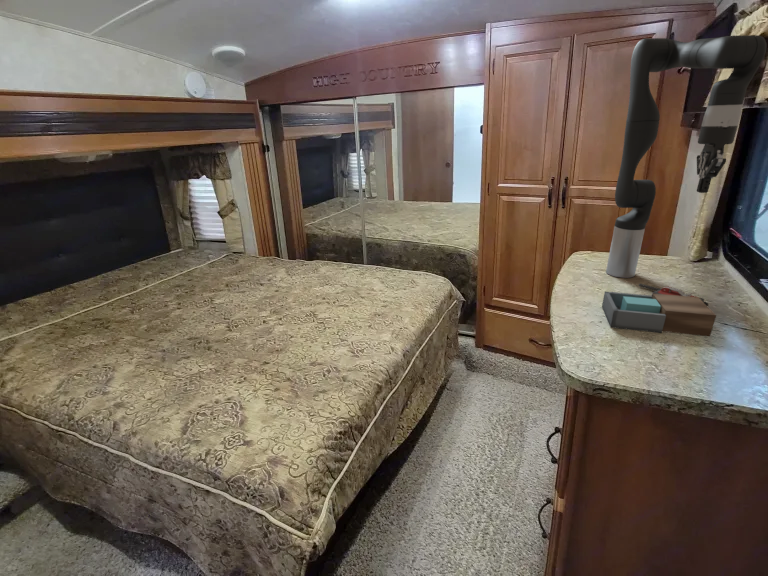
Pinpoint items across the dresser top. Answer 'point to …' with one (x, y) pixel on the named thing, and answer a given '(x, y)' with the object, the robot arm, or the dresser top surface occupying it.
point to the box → (630, 314)
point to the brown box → (685, 314)
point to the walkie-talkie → (669, 291)
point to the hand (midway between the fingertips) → (701, 192)
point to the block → (640, 305)
